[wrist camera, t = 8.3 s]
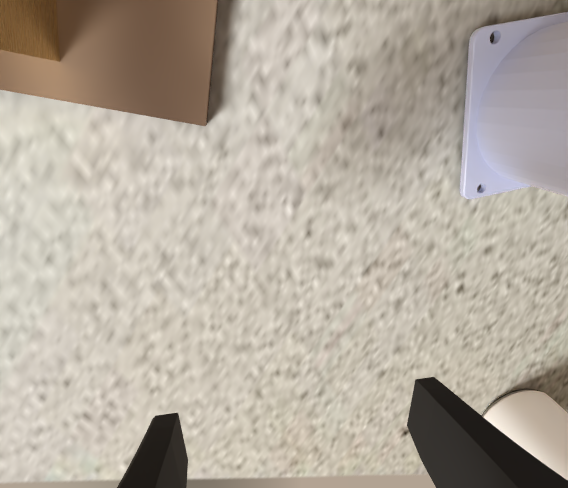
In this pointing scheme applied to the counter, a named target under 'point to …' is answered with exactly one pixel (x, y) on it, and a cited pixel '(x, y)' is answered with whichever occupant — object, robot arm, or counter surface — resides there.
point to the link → (30, 28)
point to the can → (534, 426)
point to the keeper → (125, 58)
